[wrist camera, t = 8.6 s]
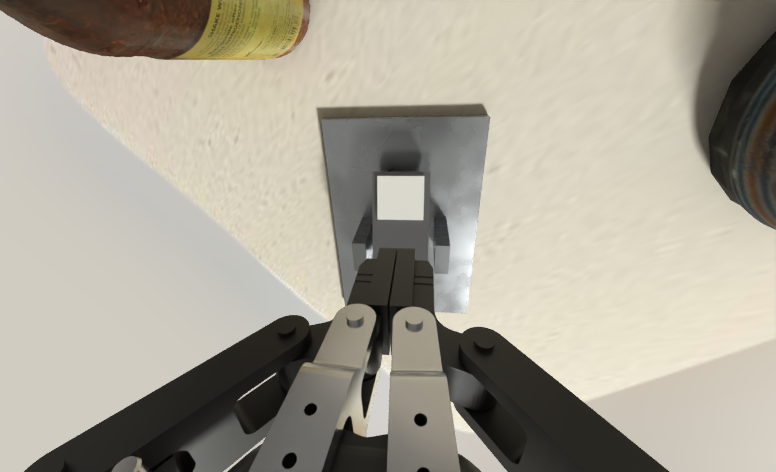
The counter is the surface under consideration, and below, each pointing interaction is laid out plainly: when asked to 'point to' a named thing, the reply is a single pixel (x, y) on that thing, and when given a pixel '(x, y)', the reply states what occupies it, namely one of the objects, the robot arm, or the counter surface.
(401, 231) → the lever
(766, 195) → the beer stein
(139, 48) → the sauce bottle
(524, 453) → the robot arm
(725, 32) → the counter surface
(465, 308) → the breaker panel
